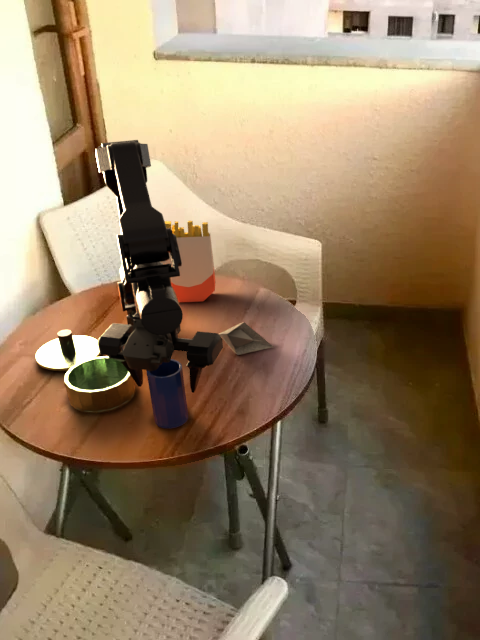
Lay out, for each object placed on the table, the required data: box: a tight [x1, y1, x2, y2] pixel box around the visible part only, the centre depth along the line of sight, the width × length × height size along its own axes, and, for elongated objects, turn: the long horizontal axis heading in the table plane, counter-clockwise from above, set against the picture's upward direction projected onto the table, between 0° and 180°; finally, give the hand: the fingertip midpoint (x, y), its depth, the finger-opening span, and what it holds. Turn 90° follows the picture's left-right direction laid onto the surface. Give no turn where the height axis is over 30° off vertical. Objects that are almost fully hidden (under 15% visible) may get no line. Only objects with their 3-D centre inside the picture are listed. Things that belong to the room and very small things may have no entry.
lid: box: [35, 329, 101, 372], centre depth 137 cm, size 12×12×5 cm
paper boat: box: [218, 321, 274, 356], centre depth 137 cm, size 12×6×9 cm
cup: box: [145, 358, 189, 429], centre depth 118 cm, size 6×6×10 cm
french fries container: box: [161, 220, 216, 303], centre depth 153 cm, size 5×11×18 cm, turn 95°
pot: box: [63, 355, 136, 415], centre depth 126 cm, size 11×11×4 cm
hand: (167, 388), depth 118 cm, fingers open, 9 cm apart
